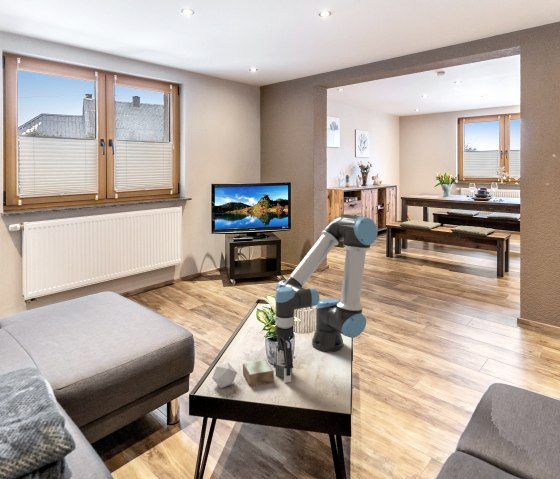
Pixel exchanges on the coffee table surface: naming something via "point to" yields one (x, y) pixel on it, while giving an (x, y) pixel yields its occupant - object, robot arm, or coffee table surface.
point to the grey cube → (280, 368)
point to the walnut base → (258, 373)
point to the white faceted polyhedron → (224, 375)
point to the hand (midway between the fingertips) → (283, 374)
